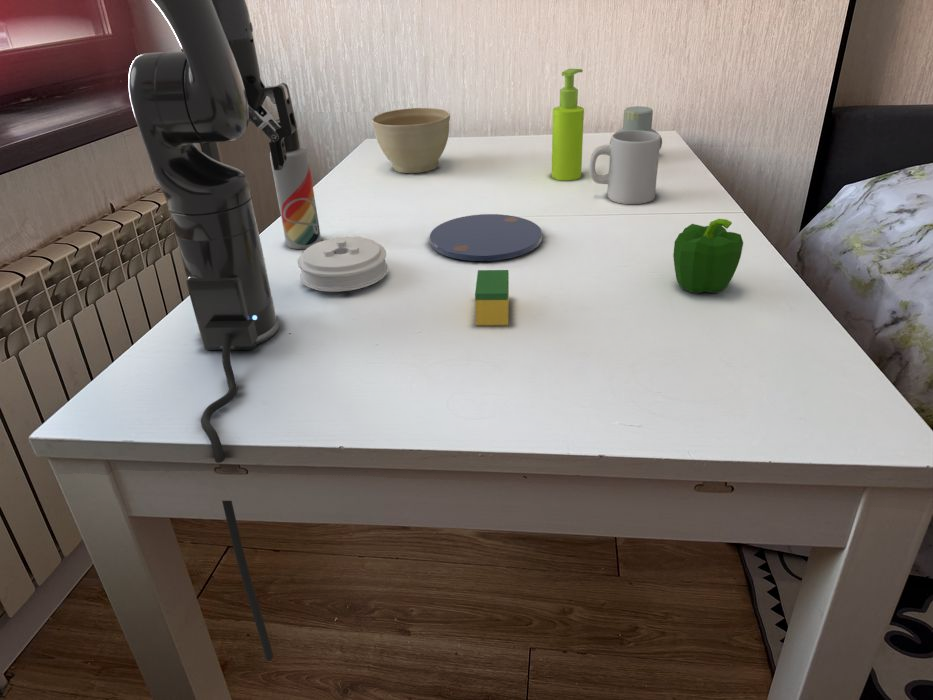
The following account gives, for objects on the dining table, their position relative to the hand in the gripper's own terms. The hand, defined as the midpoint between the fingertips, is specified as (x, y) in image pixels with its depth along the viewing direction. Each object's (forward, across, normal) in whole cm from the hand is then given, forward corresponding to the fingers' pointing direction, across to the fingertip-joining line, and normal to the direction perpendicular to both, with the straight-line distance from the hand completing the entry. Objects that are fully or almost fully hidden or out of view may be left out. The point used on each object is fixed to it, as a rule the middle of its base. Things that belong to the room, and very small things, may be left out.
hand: (247, 169), depth 91 cm
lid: (+17, +10, +3) cm, 20 cm away
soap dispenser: (+17, +45, +51) cm, 70 cm away
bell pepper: (+17, +60, -1) cm, 63 cm away
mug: (+17, +54, +37) cm, 68 cm away
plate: (+17, +30, +17) cm, 39 cm away
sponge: (+17, +32, -8) cm, 37 cm away
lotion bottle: (+17, 0, +17) cm, 24 cm away
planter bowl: (+17, +13, +59) cm, 63 cm away
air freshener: (+17, +60, +63) cm, 89 cm away
